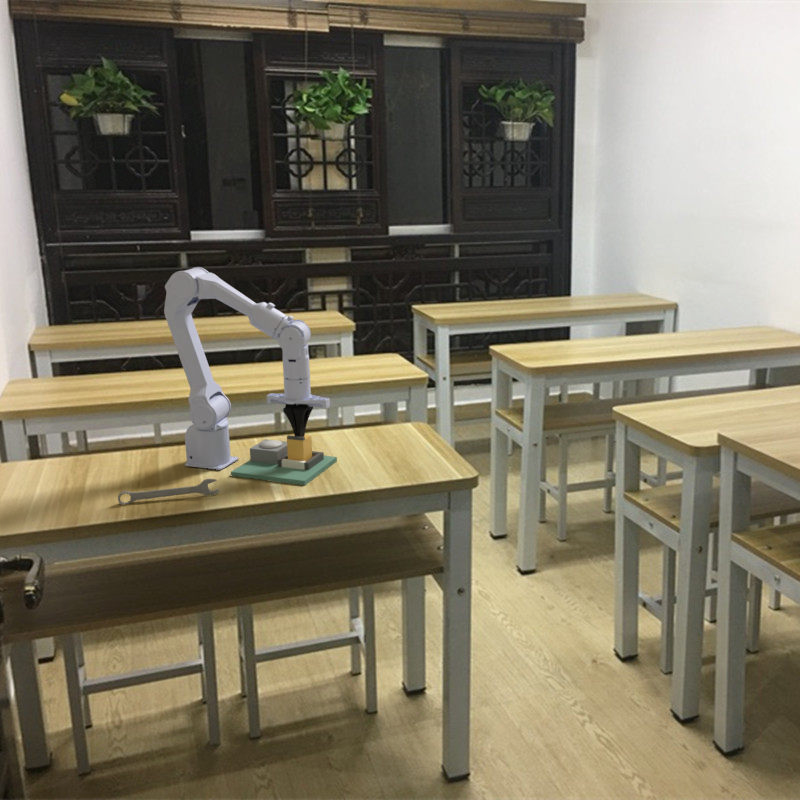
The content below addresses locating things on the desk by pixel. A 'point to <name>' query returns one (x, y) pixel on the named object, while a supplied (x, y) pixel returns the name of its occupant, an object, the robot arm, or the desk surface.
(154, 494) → the combination wrench
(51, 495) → the desk surface
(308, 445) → the plug
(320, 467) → the board
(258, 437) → the desk surface
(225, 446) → the robot arm
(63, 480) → the desk surface
